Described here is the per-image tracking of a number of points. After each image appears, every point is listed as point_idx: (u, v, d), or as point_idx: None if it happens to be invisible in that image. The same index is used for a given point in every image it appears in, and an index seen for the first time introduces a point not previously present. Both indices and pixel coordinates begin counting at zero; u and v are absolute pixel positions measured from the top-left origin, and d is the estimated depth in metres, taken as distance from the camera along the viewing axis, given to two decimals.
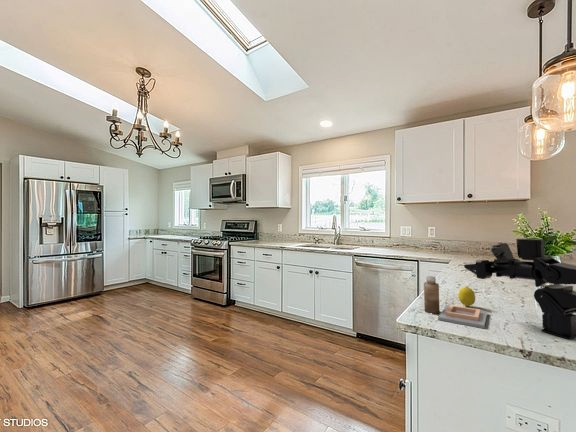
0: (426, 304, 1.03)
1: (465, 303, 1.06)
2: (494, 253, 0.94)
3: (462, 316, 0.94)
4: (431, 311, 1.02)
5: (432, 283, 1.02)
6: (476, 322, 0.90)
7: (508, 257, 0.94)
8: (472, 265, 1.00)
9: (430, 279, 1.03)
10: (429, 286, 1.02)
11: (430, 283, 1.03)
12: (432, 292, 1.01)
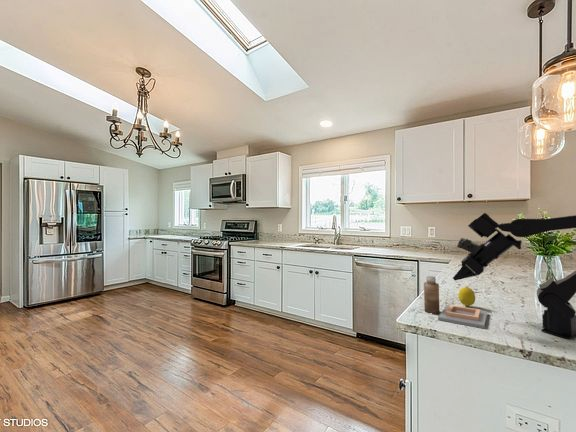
0: (426, 304, 1.03)
1: (465, 303, 1.06)
2: (466, 247, 0.93)
3: (462, 316, 0.94)
4: (431, 311, 1.02)
5: (432, 283, 1.02)
6: (476, 322, 0.90)
7: (476, 244, 0.95)
8: (460, 271, 0.93)
9: (430, 279, 1.03)
10: (429, 286, 1.02)
11: (430, 283, 1.03)
12: (432, 292, 1.01)
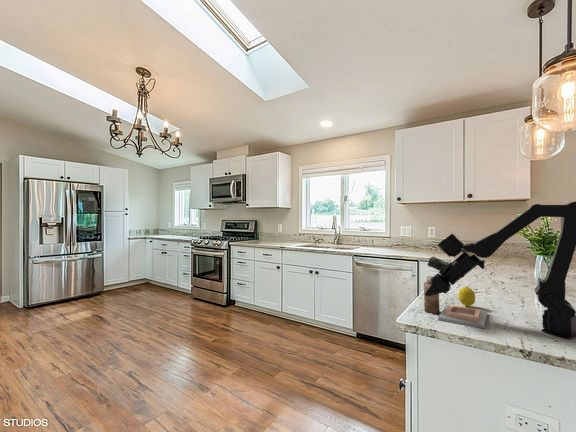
0: (426, 304, 1.03)
1: (465, 303, 1.06)
2: (435, 266, 0.99)
3: (462, 316, 0.94)
4: (431, 311, 1.02)
5: None
6: (476, 322, 0.90)
7: (445, 263, 1.00)
8: (431, 287, 1.00)
9: None
10: (429, 286, 1.02)
11: (430, 283, 1.03)
12: None
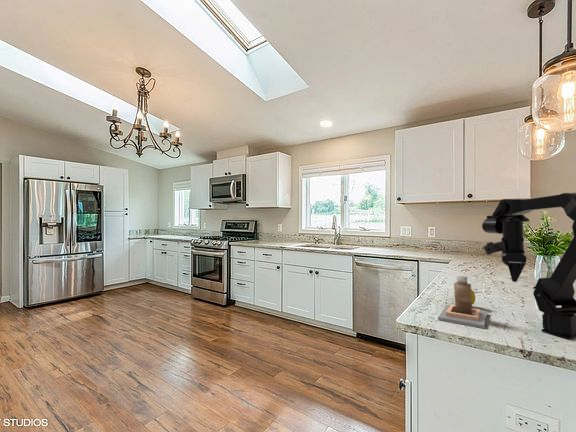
0: (457, 306, 0.97)
1: None
2: (493, 249, 0.97)
3: (462, 316, 0.94)
4: (463, 313, 0.95)
5: (464, 283, 0.96)
6: (476, 322, 0.90)
7: (498, 242, 0.99)
8: (511, 270, 0.93)
9: (461, 279, 0.96)
10: (461, 287, 0.96)
11: (461, 283, 0.96)
12: (464, 293, 0.95)
